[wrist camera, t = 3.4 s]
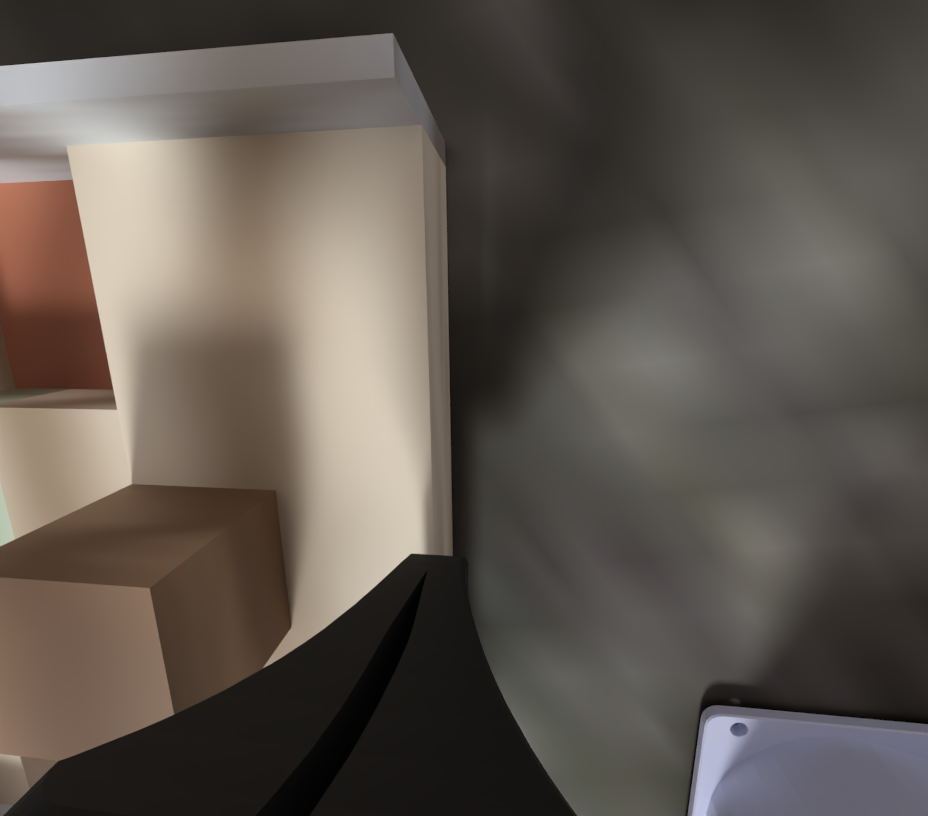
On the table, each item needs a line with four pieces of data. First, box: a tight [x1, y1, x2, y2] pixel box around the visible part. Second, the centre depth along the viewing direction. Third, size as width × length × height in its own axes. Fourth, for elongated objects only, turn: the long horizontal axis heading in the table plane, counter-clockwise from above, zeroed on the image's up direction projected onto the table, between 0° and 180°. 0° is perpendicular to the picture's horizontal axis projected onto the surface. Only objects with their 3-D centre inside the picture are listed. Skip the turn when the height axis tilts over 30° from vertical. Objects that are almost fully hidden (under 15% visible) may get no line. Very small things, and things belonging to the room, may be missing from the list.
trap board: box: [0, 33, 453, 816], centre depth 13 cm, size 19×21×5 cm
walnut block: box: [0, 484, 291, 761], centre depth 10 cm, size 4×4×4 cm
